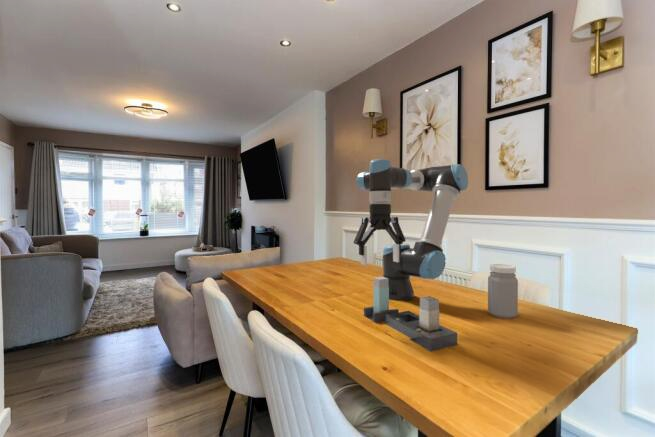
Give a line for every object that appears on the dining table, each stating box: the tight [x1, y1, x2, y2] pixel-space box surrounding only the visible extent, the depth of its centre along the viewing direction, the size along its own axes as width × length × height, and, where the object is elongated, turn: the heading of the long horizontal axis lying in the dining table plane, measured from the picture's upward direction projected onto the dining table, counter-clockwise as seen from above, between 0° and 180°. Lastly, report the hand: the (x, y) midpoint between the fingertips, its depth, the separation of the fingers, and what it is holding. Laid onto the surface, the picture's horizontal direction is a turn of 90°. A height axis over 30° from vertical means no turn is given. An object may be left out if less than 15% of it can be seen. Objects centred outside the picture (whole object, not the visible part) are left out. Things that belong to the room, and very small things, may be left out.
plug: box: [372, 276, 390, 312], centre depth 114 cm, size 4×4×14 cm
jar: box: [487, 263, 519, 320], centre depth 117 cm, size 10×10×18 cm
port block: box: [384, 295, 458, 352], centre depth 100 cm, size 10×22×12 cm, turn 24°
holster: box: [363, 305, 400, 324], centre depth 114 cm, size 10×8×4 cm
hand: (380, 263), depth 114 cm, fingers open, 13 cm apart
